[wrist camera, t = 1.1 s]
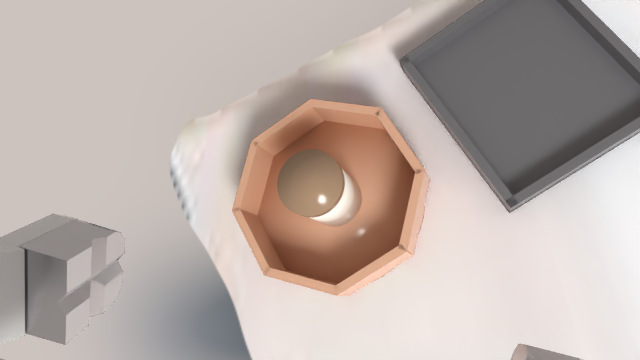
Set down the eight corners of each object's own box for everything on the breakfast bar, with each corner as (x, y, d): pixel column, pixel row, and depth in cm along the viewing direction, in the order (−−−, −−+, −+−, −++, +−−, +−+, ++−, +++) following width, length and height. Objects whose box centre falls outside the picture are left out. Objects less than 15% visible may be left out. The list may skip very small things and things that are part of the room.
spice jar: (344, 160, 49) (320, 136, 42) (374, 207, 47) (353, 190, 40) (298, 192, 50) (266, 173, 43) (325, 239, 48) (296, 228, 41)
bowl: (365, 88, 51) (354, 68, 47) (462, 226, 45) (459, 218, 40) (234, 180, 54) (211, 169, 49) (308, 323, 48) (289, 325, 43)
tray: (538, -23, 48) (541, -40, 46) (672, 112, 42) (683, 101, 39) (403, 71, 50) (399, 60, 48) (509, 213, 44) (510, 208, 42)
